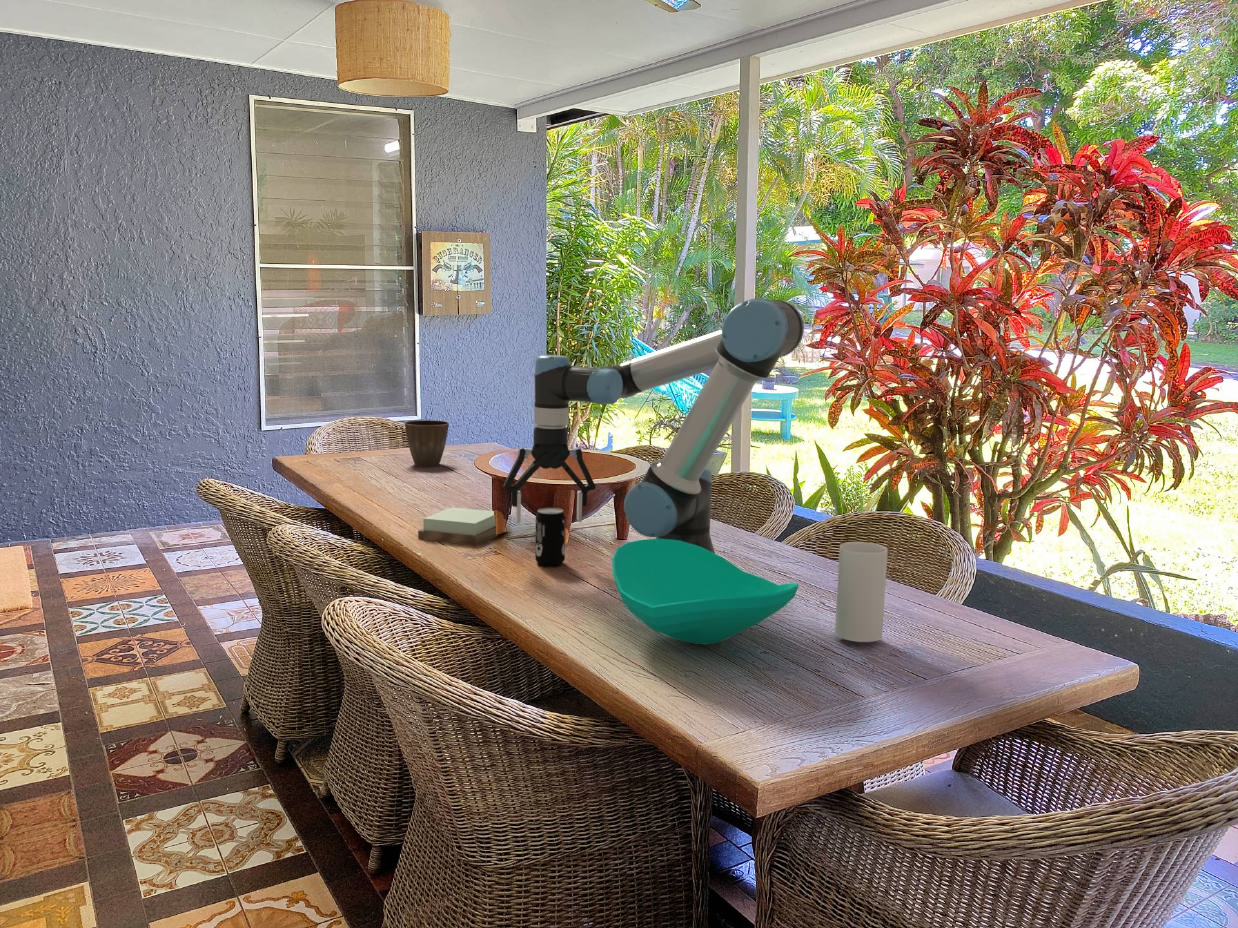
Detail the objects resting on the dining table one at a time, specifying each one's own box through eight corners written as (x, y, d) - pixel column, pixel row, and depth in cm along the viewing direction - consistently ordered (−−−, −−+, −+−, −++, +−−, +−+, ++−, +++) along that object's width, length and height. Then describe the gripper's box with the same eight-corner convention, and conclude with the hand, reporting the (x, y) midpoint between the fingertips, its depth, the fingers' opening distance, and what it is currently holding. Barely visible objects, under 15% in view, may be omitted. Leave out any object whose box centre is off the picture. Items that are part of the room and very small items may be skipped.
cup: (847, 623, 181) (852, 539, 178) (889, 633, 175) (895, 547, 173) (826, 634, 174) (831, 547, 172) (869, 645, 169) (875, 555, 167)
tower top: (501, 523, 247) (500, 511, 246) (475, 535, 234) (475, 523, 233) (451, 518, 251) (451, 507, 251) (423, 530, 238) (423, 518, 238)
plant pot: (436, 463, 350) (435, 419, 347) (457, 469, 339) (456, 423, 336) (397, 467, 341) (397, 421, 338) (418, 473, 329) (417, 426, 327)
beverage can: (560, 567, 215) (561, 514, 213) (531, 565, 217) (532, 512, 215) (568, 560, 222) (568, 508, 220) (540, 558, 223) (540, 506, 221)
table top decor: (576, 616, 182) (577, 547, 179) (698, 596, 196) (700, 532, 194) (700, 690, 148) (703, 605, 146) (837, 659, 162) (841, 582, 160)
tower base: (506, 534, 248) (506, 523, 248) (477, 549, 233) (477, 536, 233) (450, 528, 253) (450, 517, 253) (418, 542, 238) (418, 530, 238)
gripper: (604, 424, 220) (601, 516, 224) (492, 423, 216) (491, 517, 219) (610, 429, 213) (606, 524, 217) (494, 428, 208) (493, 525, 212)
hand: (548, 520), depth 218 cm, fingers open, 13 cm apart
